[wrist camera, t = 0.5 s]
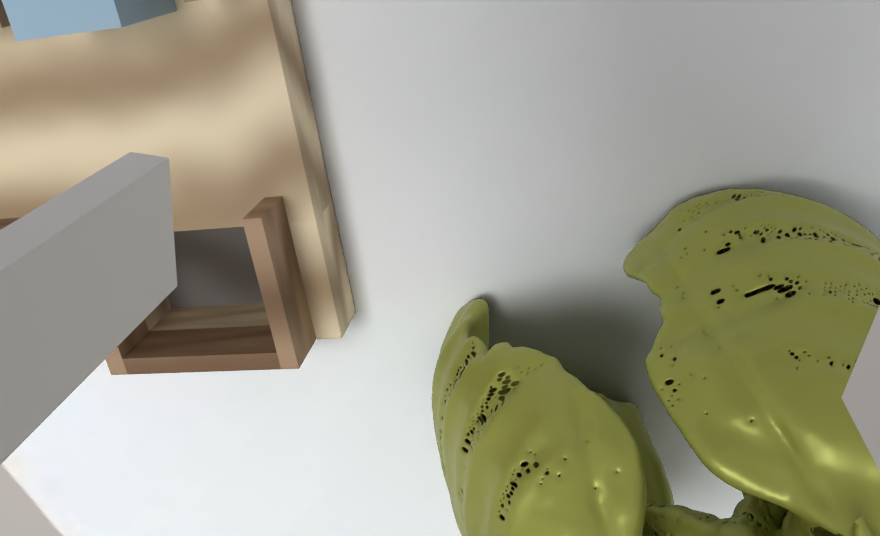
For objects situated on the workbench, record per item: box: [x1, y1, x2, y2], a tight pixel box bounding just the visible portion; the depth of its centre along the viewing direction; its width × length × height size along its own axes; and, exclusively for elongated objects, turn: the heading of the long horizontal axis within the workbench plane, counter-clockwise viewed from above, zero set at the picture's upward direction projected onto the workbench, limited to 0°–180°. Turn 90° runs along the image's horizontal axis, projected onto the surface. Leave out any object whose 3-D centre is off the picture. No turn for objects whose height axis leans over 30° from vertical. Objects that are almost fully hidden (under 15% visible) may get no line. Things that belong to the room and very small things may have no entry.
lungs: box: [432, 189, 880, 536], centre depth 33 cm, size 25×16×24 cm, turn 119°
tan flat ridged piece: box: [0, 0, 355, 375], centre depth 40 cm, size 24×27×6 cm
